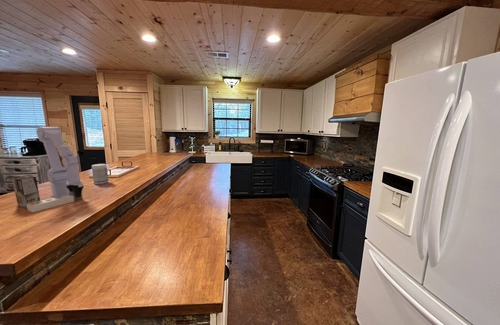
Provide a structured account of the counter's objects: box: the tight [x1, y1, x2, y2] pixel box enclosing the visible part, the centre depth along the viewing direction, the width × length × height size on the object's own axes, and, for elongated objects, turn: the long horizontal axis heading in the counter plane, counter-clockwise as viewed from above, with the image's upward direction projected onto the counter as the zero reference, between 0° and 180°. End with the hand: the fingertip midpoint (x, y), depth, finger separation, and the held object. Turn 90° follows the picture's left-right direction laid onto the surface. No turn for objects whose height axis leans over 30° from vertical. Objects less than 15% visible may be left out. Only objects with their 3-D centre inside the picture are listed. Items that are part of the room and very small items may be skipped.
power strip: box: [26, 194, 75, 213], centre depth 115 cm, size 18×6×4 cm, turn 154°
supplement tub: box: [91, 163, 110, 185], centre depth 160 cm, size 10×10×15 cm
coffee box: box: [11, 175, 41, 208], centre depth 115 cm, size 9×6×16 cm
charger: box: [69, 191, 83, 201], centre depth 124 cm, size 6×4×5 cm
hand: (76, 196), depth 125 cm, fingers closed on charger, 4 cm apart
